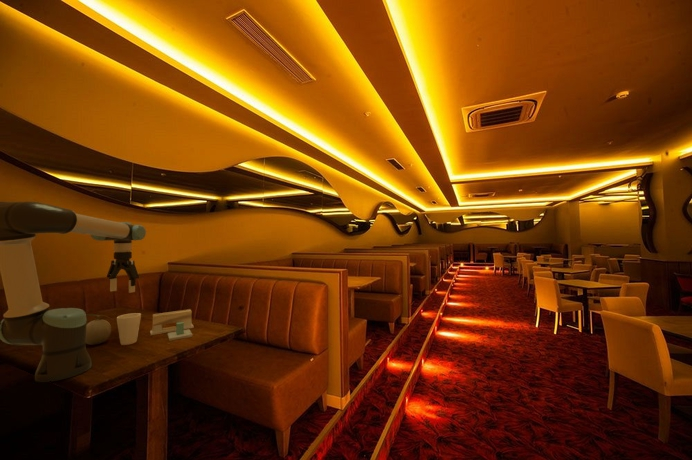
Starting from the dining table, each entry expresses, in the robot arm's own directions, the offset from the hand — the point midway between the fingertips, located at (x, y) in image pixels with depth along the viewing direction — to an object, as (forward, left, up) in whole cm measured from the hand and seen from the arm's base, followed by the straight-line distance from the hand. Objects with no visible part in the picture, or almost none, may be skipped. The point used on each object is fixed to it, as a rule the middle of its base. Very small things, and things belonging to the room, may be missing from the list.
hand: (122, 291), depth 149 cm
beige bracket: (-7, -22, -23) cm, 32 cm away
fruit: (-8, +9, -23) cm, 26 cm away
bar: (-7, -22, -18) cm, 29 cm away
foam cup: (-16, -3, -23) cm, 28 cm away
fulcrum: (-21, -24, -23) cm, 39 cm away
